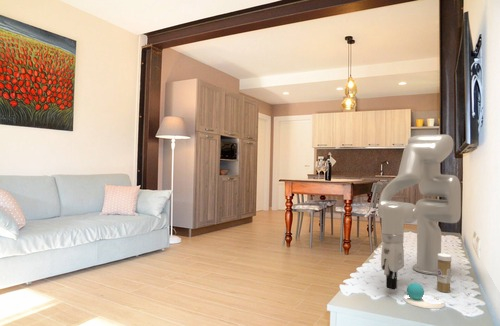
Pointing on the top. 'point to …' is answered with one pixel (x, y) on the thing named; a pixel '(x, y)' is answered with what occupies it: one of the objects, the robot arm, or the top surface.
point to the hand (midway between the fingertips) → (391, 288)
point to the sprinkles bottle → (444, 272)
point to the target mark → (424, 303)
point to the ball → (415, 291)
